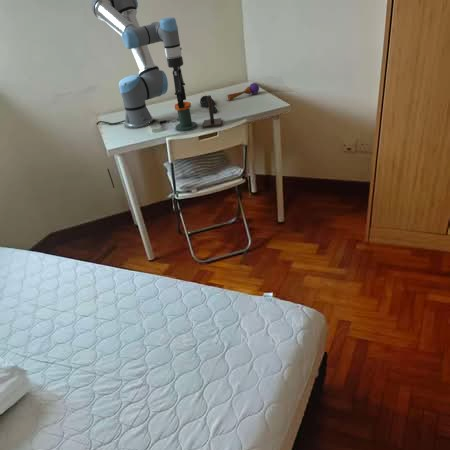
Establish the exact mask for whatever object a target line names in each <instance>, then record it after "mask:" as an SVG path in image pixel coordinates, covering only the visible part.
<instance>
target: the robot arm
mask: <svg viewBox="0 0 450 450" xmlns="http://www.w3.org/2000/svg"><path fill="white" fill-rule="evenodd" d="M90 8H91V10H92V13H93V14H94V16H95V17H96V18H97V19H98V20H99V21H101V22H105V24H107V25H108V26H109V27H110V28H112V29H113V30H114V31H115V32H117V34H119V36H120V37H121V39H122V43H123V45H124V47H125V48H126V49H127V50H131V52H132V55H133V57H134V60H135V62H136V64H137V67H138V70H139V71H138V74H131V75H128V76H125V77H123V78H122V79H121V80H119V82H118V88H119V93H120V95H121V99H122V102H123V107H124V110H125V113H124V114H125V115H124V118H125V119H124V120H120V121H117V122H109V121H104V120H99V121H97V122H96V125H99V124H100V123H104V124H108V125H110V126H111V125H118V124H121V123H122V124H123V123H125V127H126V128H128V129H137V128H143V127H147V126H149V125H151V124H152V123H153V122H154V120H153V116H152V114H151V113H150V111H149V109H148V107H147V103H146V101H148V100H152V99H154V98H158V97H161V96H163V95H165V94H166V93H167V92H168V90H169V89H168V88H169V83H168V77H167V74H166V73H165V71H164V70H161V69H160V68H159V66H158V65H156V64H155V63H154V60H153V57H152V55H151V51H150V50H149V47H148V45H153V44H156V43H160V42H162V43H163V47H164V53H165V57H166V62H167V67H168V68H171V69H172V75H173V76H172V77H173V83H174V95H175V96H176V101H177V103H178V106H179V108H184V102H185V101H186V100H187V94H186V89H185V86H186V82H185V81H184V77H183V72H182V69H181V67H182V66H184V60H183V58H184V57H183V56H182V54H183V53H182V51H183V48H182V47H181V41H180V36H179V28H178V27H179V26H178V24H177V20H176V19H177V18H175V17H172V16H171V17H163V18H161V19H160V20H159V21H155V22H151V23H150V24H146V25H142V26H140V23H139V21H138V18H137V14H138V8H139V2H138V0H90ZM149 122H150V123H149ZM107 173H108V175H109V179H110V181H111V185H112V188H113V189H115V185H114V182H113V178H112V175H111V172H110V169H109V168H107Z"/></svg>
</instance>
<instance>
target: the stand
mask: <svg viewBox="0 0 450 450" xmlns="http://www.w3.org/2000/svg"><path fill="white" fill-rule="evenodd" d="M176 111H177V117H178V121H179V123H177V124H176V126H175V130H176V131H178V132H189V131H191V130H195V129H196V128H197V127H198V123H197V122H196V121H192V114H191V108H189V109H186V110H180V111H179V110H176Z"/></svg>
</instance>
